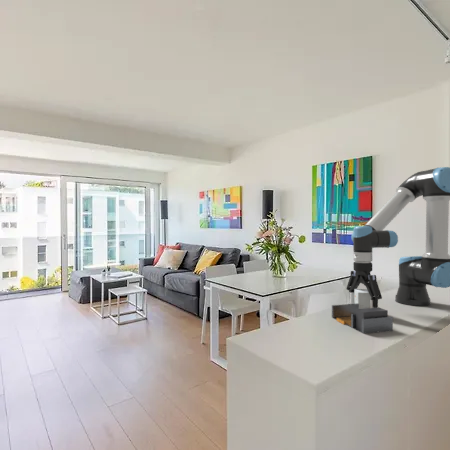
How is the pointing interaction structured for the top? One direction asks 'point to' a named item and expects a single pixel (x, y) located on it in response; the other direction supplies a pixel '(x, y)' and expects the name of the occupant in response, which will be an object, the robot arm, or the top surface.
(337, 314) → the rack
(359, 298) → the small box
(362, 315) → the dark grey box
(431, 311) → the top surface
